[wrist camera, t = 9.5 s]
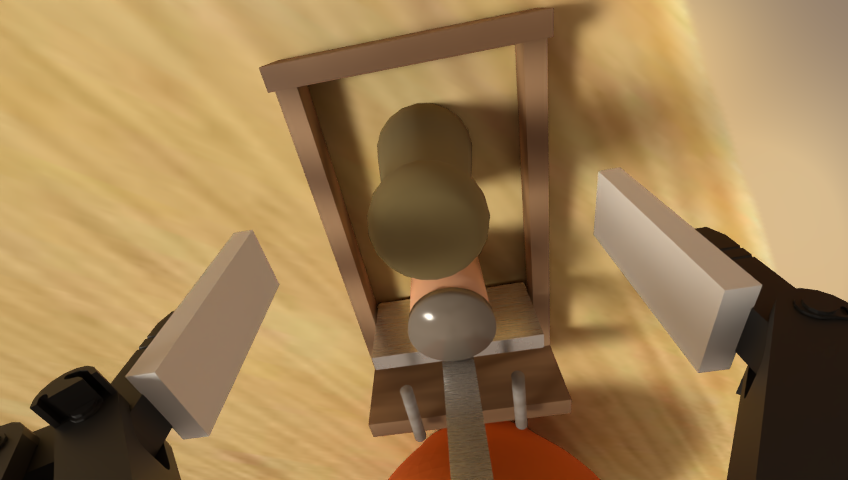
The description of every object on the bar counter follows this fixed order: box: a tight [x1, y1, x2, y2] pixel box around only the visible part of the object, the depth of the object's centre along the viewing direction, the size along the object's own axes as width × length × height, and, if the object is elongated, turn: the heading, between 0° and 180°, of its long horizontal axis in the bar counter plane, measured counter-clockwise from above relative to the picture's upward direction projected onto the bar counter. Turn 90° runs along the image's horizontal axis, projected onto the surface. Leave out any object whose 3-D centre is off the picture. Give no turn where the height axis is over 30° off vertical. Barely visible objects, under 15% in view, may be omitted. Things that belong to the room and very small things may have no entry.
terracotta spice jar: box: [408, 256, 496, 361], centre depth 26 cm, size 5×5×7 cm
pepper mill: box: [367, 103, 490, 280], centre depth 20 cm, size 6×6×11 cm
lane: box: [259, 8, 571, 442], centre depth 24 cm, size 25×14×8 cm, turn 10°
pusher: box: [372, 282, 544, 480], centre depth 23 cm, size 1×11×18 cm, turn 100°
